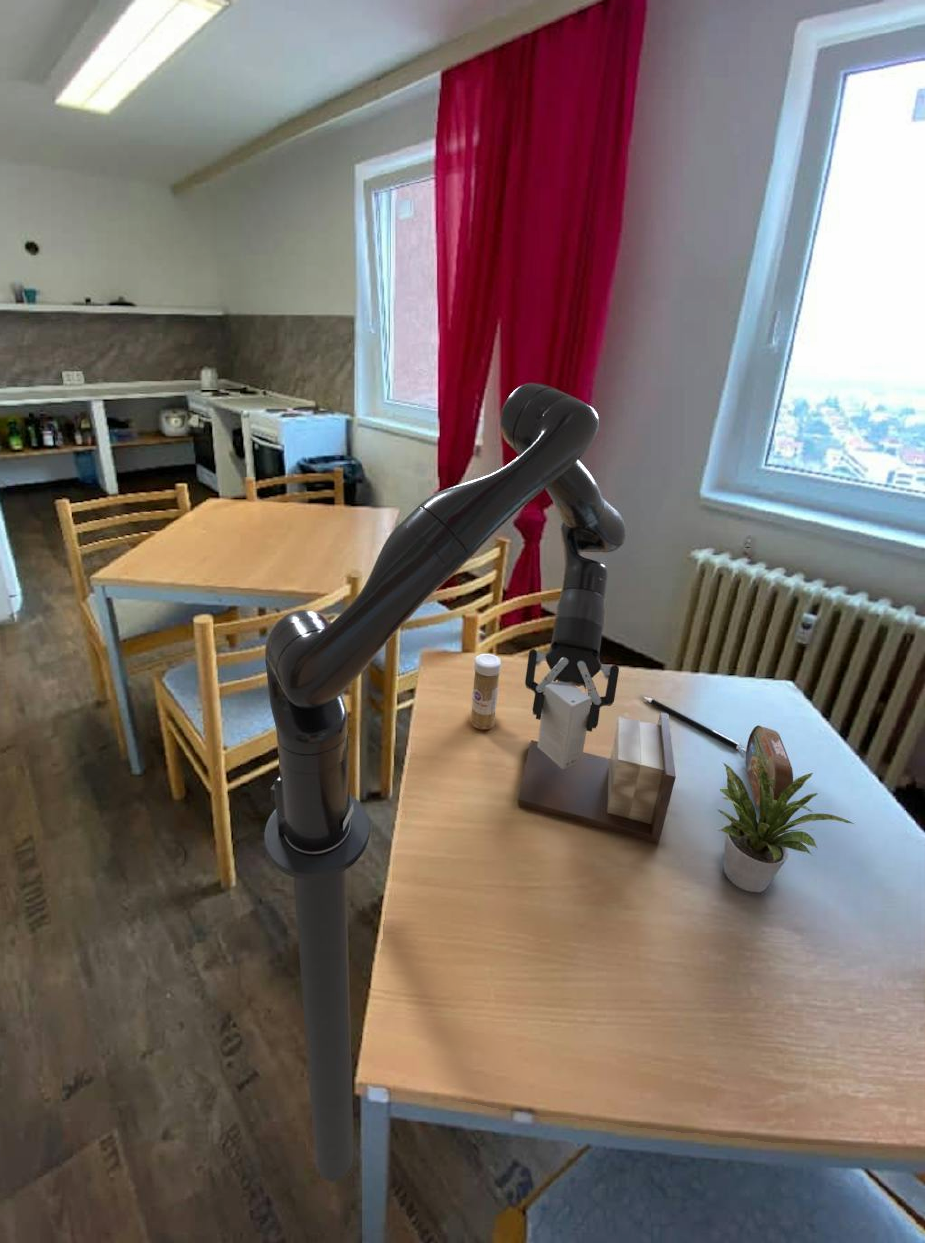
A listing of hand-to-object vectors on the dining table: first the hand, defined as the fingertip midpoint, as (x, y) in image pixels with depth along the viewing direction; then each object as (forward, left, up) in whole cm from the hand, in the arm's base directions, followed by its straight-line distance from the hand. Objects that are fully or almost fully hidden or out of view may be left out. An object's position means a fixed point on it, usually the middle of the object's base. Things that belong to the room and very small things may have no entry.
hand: (563, 724), depth 89 cm
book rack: (+5, 0, -11) cm, 12 cm away
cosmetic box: (0, +2, -7) cm, 7 cm away
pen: (+22, +23, -11) cm, 34 cm away
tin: (+31, +10, -11) cm, 35 cm away
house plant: (+27, -8, -11) cm, 30 cm away
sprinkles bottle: (-14, +10, -11) cm, 20 cm away
